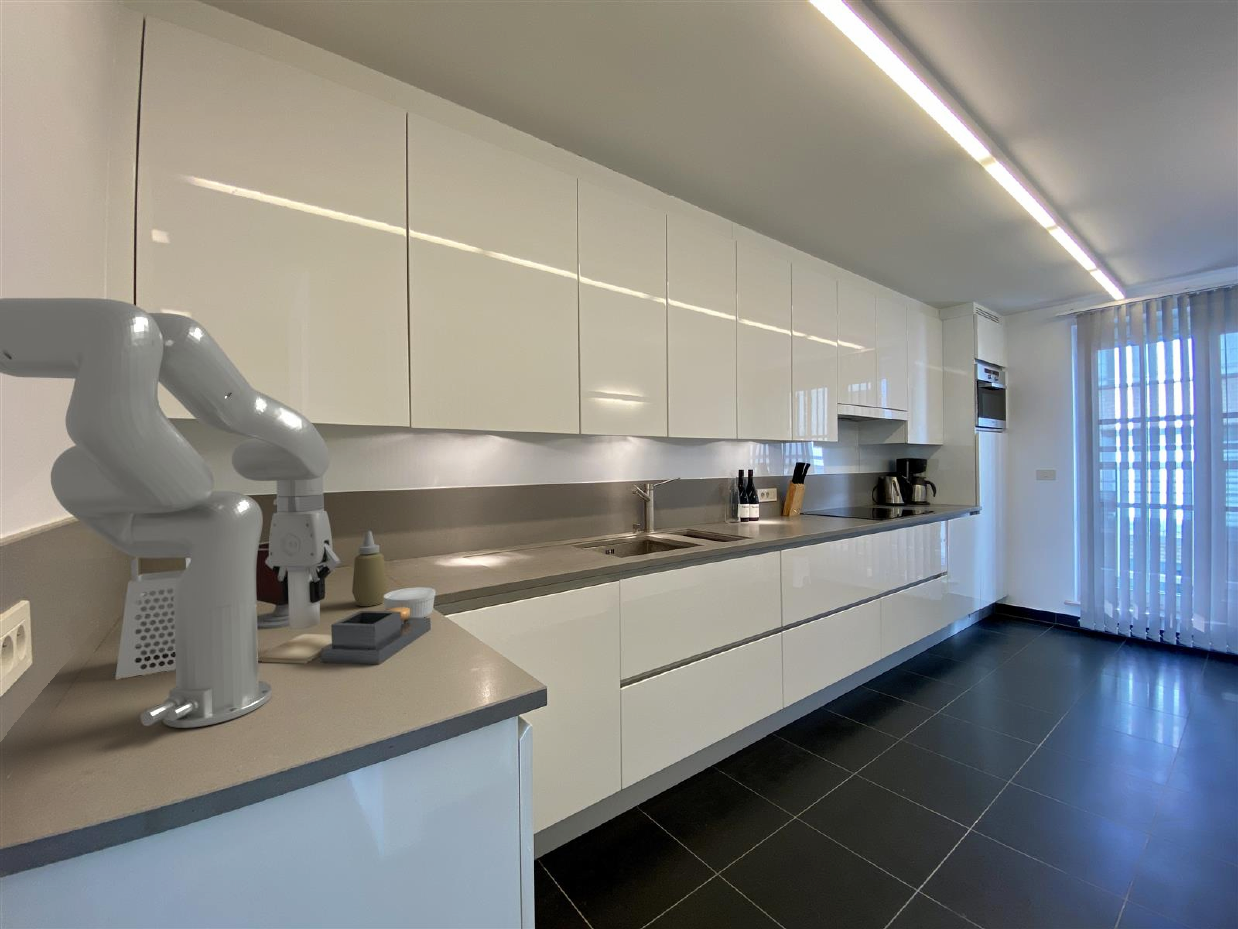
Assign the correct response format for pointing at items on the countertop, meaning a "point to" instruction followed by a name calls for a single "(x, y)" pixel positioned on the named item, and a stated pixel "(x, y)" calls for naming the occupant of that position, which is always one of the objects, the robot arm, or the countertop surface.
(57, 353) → the robot arm
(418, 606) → the ramekin
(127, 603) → the grater
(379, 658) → the housing
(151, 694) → the countertop surface
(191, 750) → the countertop surface
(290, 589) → the cylinder
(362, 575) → the squeeze bottle
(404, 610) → the orange rounded lump
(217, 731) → the countertop surface
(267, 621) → the mate gourd
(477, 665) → the countertop surface
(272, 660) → the mat
